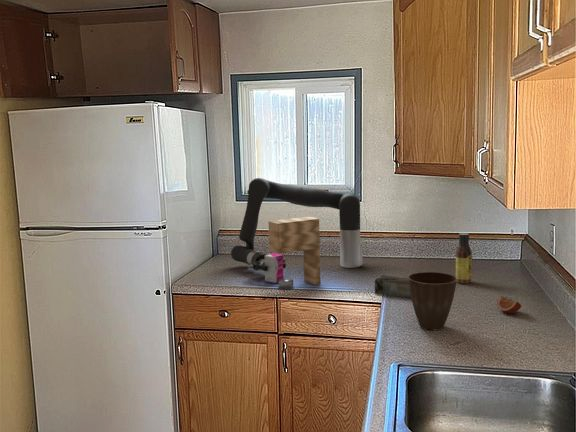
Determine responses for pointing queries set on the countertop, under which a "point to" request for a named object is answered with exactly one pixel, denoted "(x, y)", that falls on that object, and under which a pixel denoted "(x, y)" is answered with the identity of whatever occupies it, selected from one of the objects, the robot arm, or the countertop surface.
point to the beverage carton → (392, 286)
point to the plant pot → (432, 297)
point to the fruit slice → (508, 305)
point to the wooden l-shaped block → (298, 242)
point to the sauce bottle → (463, 260)
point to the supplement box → (274, 268)
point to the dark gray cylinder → (285, 283)
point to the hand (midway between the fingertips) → (276, 267)
